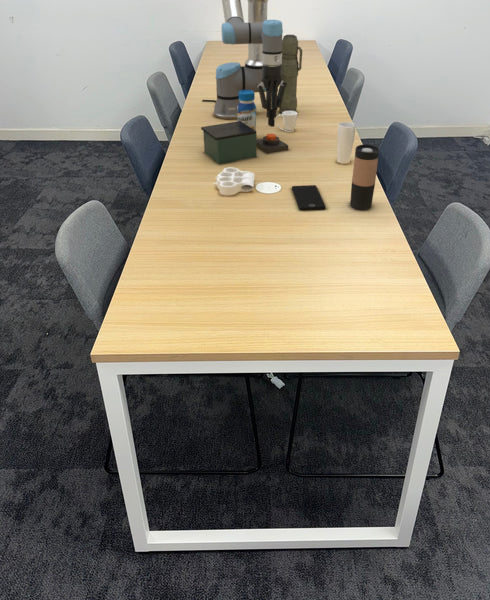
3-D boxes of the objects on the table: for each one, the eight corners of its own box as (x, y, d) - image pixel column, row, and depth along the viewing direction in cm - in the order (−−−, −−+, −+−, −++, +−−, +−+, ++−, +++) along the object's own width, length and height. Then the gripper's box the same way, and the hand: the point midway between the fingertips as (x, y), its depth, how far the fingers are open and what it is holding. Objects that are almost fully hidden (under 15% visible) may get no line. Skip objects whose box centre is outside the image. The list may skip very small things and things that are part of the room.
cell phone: (299, 210, 184) (299, 207, 183) (291, 188, 198) (291, 185, 198) (325, 209, 184) (325, 206, 184) (315, 187, 199) (315, 184, 198)
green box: (219, 164, 217) (218, 139, 211) (204, 152, 227) (203, 128, 221) (256, 157, 223) (256, 133, 218) (240, 146, 234) (240, 123, 228)
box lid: (215, 140, 211) (215, 137, 210) (201, 129, 221) (200, 127, 221) (256, 133, 217) (256, 131, 217) (240, 123, 228) (240, 120, 227)
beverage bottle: (259, 137, 243) (260, 90, 232) (251, 143, 237) (251, 95, 225) (242, 134, 246) (242, 88, 234) (234, 140, 240) (232, 92, 228)
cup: (296, 133, 248) (297, 115, 243) (274, 132, 249) (274, 114, 244) (297, 128, 254) (298, 110, 249) (276, 127, 254) (276, 109, 250)
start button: (264, 138, 231) (264, 134, 230) (272, 137, 233) (272, 132, 232) (269, 141, 228) (269, 137, 227) (277, 139, 230) (277, 135, 229)
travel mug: (347, 201, 190) (353, 144, 178) (369, 200, 191) (376, 144, 179) (351, 211, 184) (358, 153, 172) (374, 210, 184) (382, 152, 173)
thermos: (298, 115, 270) (302, 37, 250) (275, 114, 271) (276, 36, 251) (300, 110, 277) (304, 34, 257) (277, 109, 279) (278, 33, 258)
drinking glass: (353, 160, 222) (357, 122, 213) (349, 166, 217) (353, 128, 208) (337, 158, 224) (340, 120, 215) (333, 163, 218) (336, 126, 210)
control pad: (253, 145, 235) (253, 135, 233) (274, 141, 239) (274, 132, 237) (267, 154, 226) (267, 144, 224) (288, 150, 230) (288, 140, 228)
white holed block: (253, 196, 193) (211, 195, 193) (255, 176, 207) (216, 175, 207) (252, 187, 191) (210, 186, 191) (255, 167, 205) (215, 166, 205)
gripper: (261, 68, 208) (261, 130, 222) (291, 65, 213) (289, 125, 227) (252, 64, 214) (253, 125, 227) (281, 61, 219) (280, 121, 232)
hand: (271, 125), depth 227 cm, fingers closed
